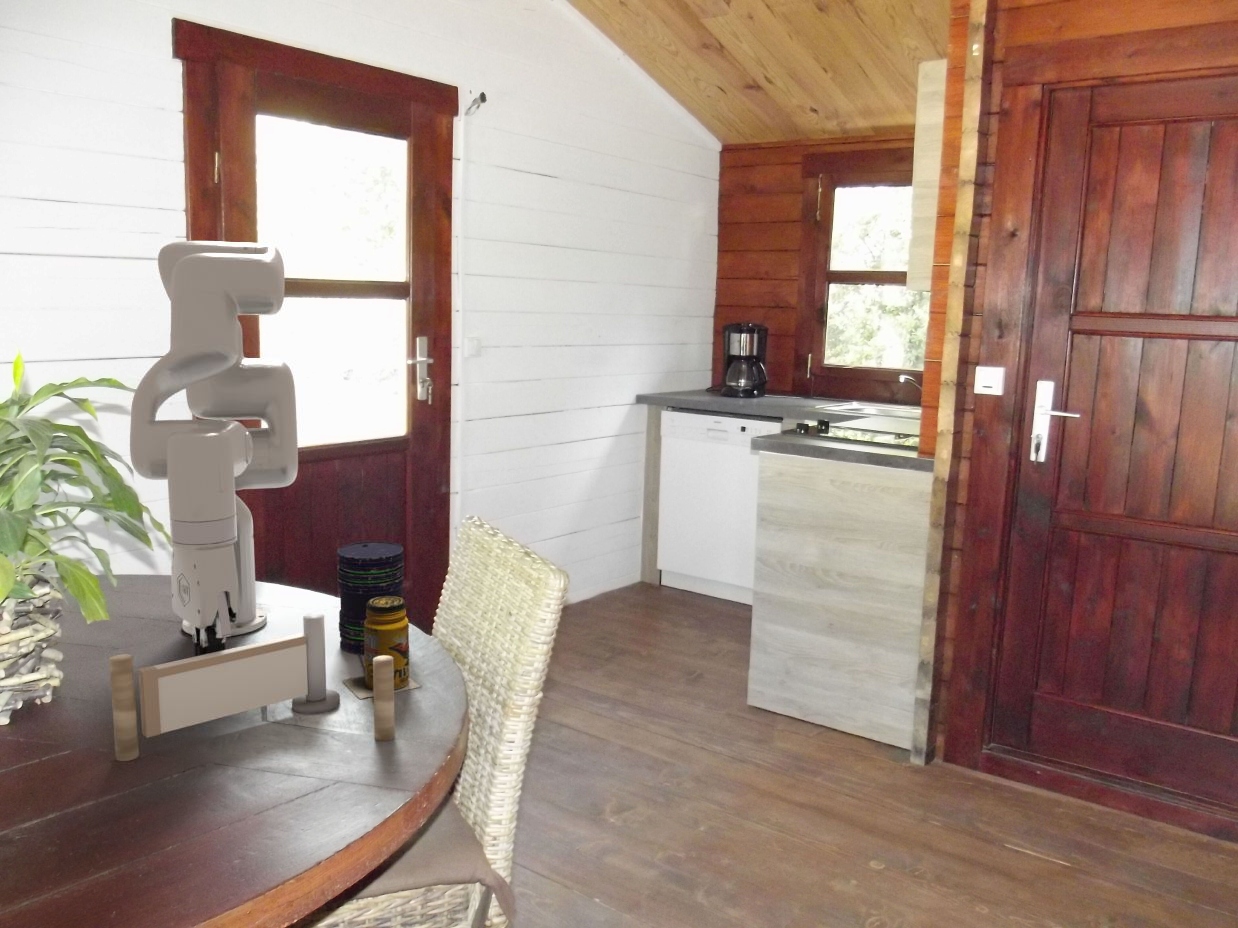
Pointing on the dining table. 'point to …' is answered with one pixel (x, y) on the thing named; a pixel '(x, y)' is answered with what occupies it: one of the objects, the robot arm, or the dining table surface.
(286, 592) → the dining table surface
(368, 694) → the condiment
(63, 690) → the dining table surface
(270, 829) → the dining table surface
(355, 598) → the storage jar
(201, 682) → the gate
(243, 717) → the dining table surface
